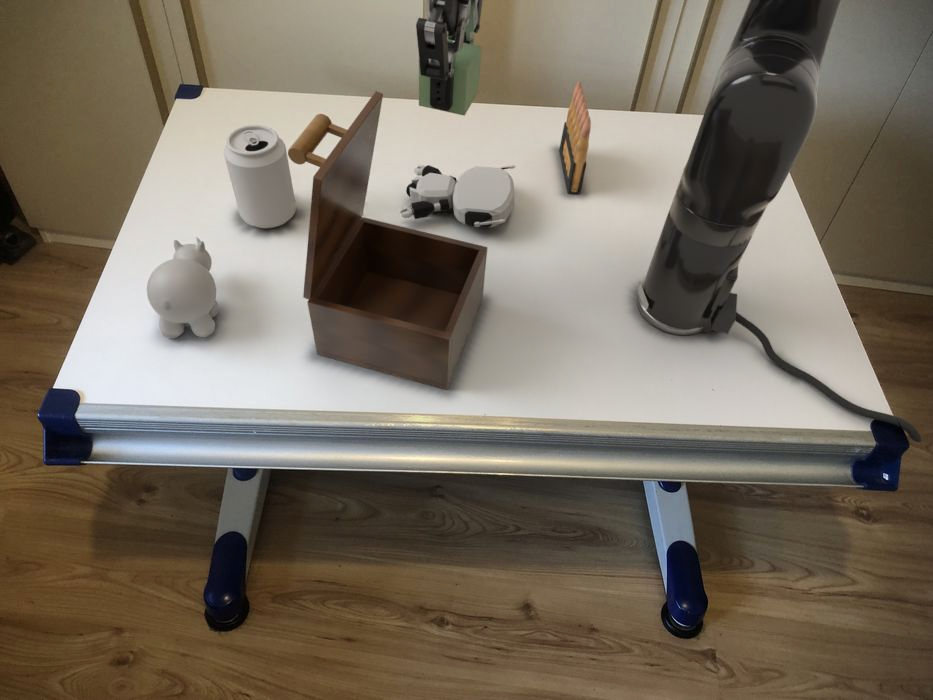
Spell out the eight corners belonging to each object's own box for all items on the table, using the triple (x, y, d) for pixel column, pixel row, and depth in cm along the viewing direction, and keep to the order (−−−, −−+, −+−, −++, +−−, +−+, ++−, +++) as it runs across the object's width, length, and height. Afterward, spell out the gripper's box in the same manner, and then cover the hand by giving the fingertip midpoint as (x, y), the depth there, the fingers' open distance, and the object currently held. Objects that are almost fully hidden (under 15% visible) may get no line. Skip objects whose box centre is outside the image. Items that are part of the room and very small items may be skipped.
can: (255, 239, 90) (236, 162, 81) (231, 208, 94) (210, 131, 84) (306, 219, 93) (294, 143, 84) (281, 190, 97) (266, 113, 87)
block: (478, 91, 73) (481, 45, 69) (464, 115, 70) (467, 69, 66) (434, 82, 74) (435, 36, 70) (418, 105, 71) (418, 59, 67)
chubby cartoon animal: (240, 271, 86) (225, 218, 80) (216, 345, 79) (198, 293, 72) (182, 269, 86) (162, 215, 79) (152, 342, 78) (128, 290, 72)
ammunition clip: (580, 194, 100) (596, 120, 90) (567, 194, 99) (582, 120, 90) (570, 150, 106) (585, 77, 97) (558, 150, 106) (572, 77, 97)
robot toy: (398, 234, 93) (508, 244, 91) (395, 208, 90) (509, 217, 88) (416, 179, 101) (518, 187, 99) (414, 153, 97) (519, 161, 96)
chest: (482, 299, 85) (487, 246, 78) (446, 390, 76) (449, 339, 69) (364, 270, 87) (360, 216, 81) (316, 354, 78) (307, 302, 72)
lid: (383, 93, 67) (335, 74, 67) (321, 180, 58) (266, 157, 58) (363, 214, 80) (322, 198, 80) (310, 300, 71) (264, 282, 71)
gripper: (473, -51, 53) (463, 139, 67) (519, -110, 62) (502, 68, 75) (383, -67, 55) (391, 122, 68) (441, -123, 63) (438, 55, 77)
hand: (449, 93), depth 72 cm, fingers closed on block, 5 cm apart
